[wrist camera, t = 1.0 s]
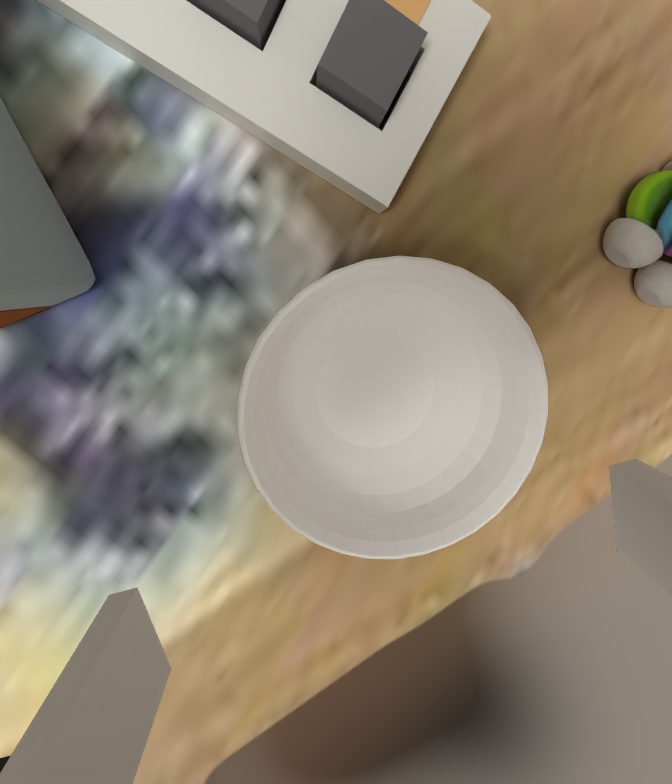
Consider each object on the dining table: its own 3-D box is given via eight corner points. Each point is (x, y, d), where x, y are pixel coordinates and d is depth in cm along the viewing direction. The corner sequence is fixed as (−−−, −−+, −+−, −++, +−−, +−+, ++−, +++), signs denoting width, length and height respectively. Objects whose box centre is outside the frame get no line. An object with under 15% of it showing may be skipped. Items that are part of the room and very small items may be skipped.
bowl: (532, 317, 33) (606, 328, 25) (433, 526, 37) (471, 593, 29) (301, 220, 30) (303, 197, 22) (217, 459, 34) (193, 514, 26)
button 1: (315, 89, 27) (318, 64, 24) (350, 16, 26) (358, -19, 23) (376, 130, 28) (387, 111, 25) (412, 61, 27) (427, 32, 24)
